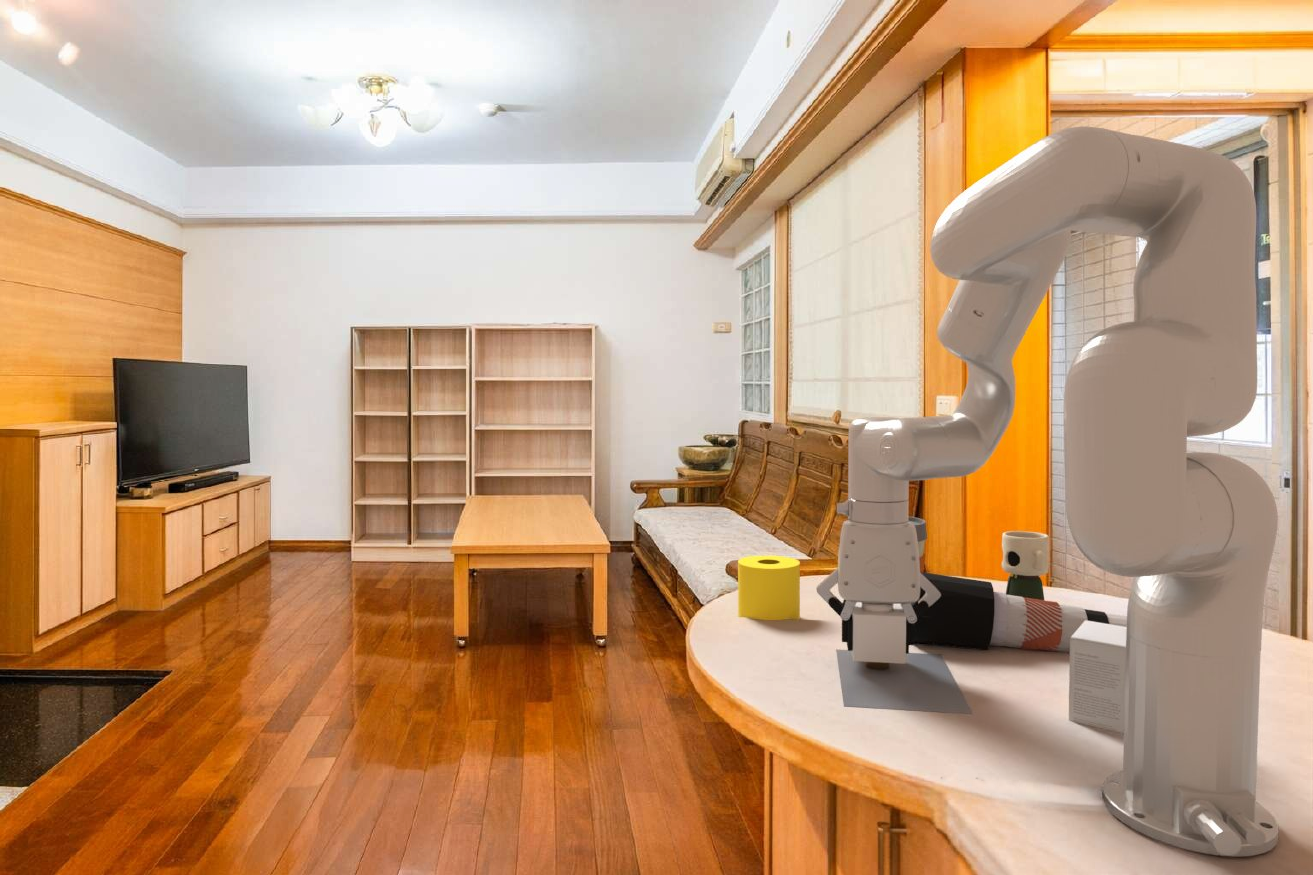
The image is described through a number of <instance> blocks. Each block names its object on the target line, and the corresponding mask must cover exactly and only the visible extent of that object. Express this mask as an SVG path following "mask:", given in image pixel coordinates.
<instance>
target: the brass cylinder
mask: <svg viewBox="0 0 1313 875" xmlns="http://www.w3.org/2000/svg"><path fill="white" fill-rule="evenodd" d="M865 666H866V667H867V668H870V669H873V670H886V669H888V668H889V663H884V662H865Z"/></svg>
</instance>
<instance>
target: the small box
mask: <svg viewBox="0 0 1313 875" xmlns="http://www.w3.org/2000/svg"><path fill="white" fill-rule="evenodd" d="M1126 630H1127V627H1123V626H1117V625H1111V624H1105V623H1099V622H1093V621H1086V620H1085V621H1084V622H1083V623H1082V624H1081V626H1080V627H1079V628H1078V629H1077V630H1076V632H1075V633H1074V634H1073V635H1072V636H1071V637H1070V654H1069V673H1068V674H1069V675H1068V676H1069V678H1068V680H1069V683H1068V685H1069V686H1068V688H1069V689H1068V721H1070V722H1074V723H1078V724H1081V725H1086V726H1090V727H1095V728H1099V729H1103V730H1109V731H1113V732H1117V733H1123V734H1124V703H1125V659H1126Z"/></svg>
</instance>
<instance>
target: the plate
mask: <svg viewBox="0 0 1313 875" xmlns="http://www.w3.org/2000/svg"><path fill="white" fill-rule="evenodd" d="M835 652H836V660H837V667H838V672H839V674H838V675H839V680H840V687H841V688H840V689H841V694H842V695H841V696H842V702H843V703H842V704H843V707H845V708H846V707H847V708H863V709H881V710H896V711H915V712H928V713H929V712H931V713H945V714H963V715H967V714H968V715H974V713H973V711H972V709H971V707H970V705H969V703H968V702H967V699H966V698H965V696H964V694H963V693H962V691H961V688H960V687H959V684H958V683H957V681H956V679H955V677H954V675H953V673H952V672H951V670H950V668H949V666H948V664H947V663H946V660H945V659H944V657H943V655H942V654H941V653H940V654H939V653H924V652H923V653H920V652H918V653H917V652H909V654H906V664H903V663H889V668H888V669H886V670H873V669H870V668H867V667H866V666H865V662H864V661H853V656H852V651H848V649H835Z"/></svg>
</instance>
